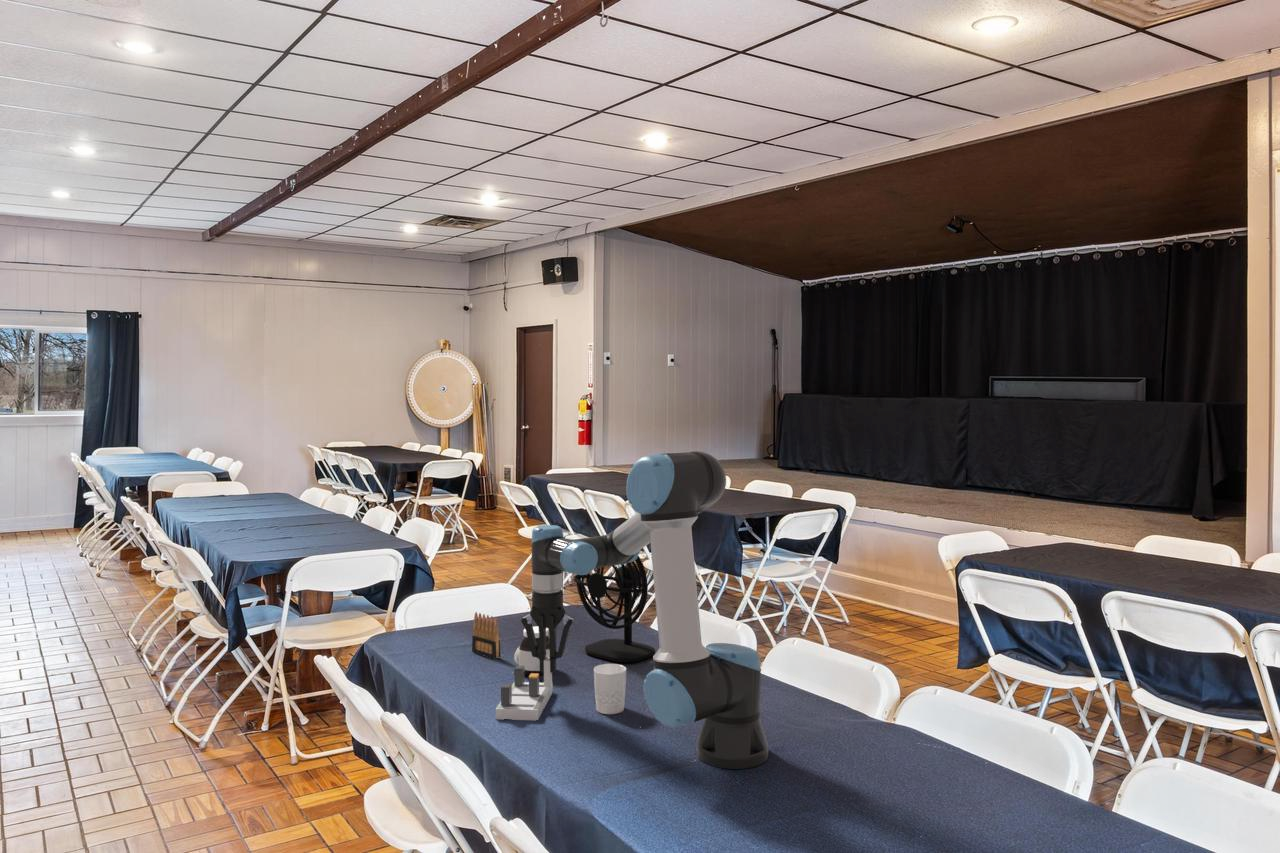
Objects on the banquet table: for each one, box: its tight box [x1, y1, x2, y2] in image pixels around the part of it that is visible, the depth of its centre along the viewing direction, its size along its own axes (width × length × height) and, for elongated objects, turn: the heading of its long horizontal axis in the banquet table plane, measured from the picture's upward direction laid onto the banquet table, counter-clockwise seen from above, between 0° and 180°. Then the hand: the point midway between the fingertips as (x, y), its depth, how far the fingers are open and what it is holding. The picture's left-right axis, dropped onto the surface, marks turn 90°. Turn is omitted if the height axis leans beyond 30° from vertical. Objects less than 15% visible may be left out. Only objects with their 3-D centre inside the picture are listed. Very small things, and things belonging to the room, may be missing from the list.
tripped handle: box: [528, 673, 540, 696], centre depth 220 cm, size 2×2×5 cm
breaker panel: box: [495, 681, 554, 721], centre depth 220 cm, size 19×10×3 cm, turn 175°
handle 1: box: [500, 683, 513, 706], centre depth 213 cm, size 2×2×4 cm
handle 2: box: [513, 664, 525, 686], centre depth 227 cm, size 2×2×4 cm
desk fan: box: [573, 555, 656, 663], centre depth 261 cm, size 27×18×35 cm, turn 50°
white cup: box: [593, 663, 627, 715], centre depth 217 cm, size 8×8×10 cm
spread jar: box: [513, 625, 550, 676], centre depth 247 cm, size 12×11×12 cm
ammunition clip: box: [471, 611, 501, 660], centre depth 261 cm, size 11×2×12 cm, turn 49°
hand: (548, 685), depth 220 cm, fingers closed
